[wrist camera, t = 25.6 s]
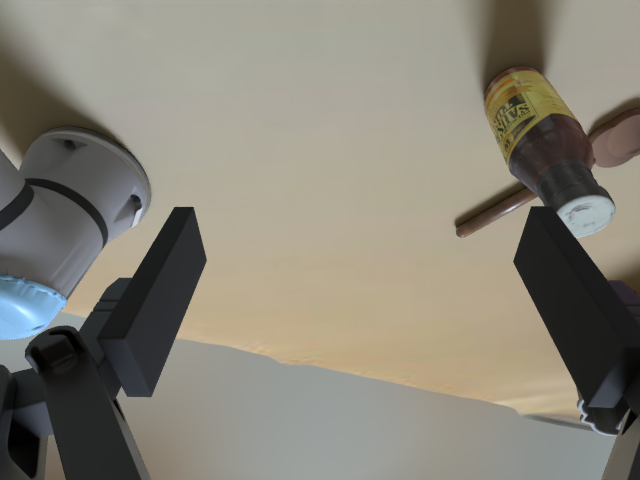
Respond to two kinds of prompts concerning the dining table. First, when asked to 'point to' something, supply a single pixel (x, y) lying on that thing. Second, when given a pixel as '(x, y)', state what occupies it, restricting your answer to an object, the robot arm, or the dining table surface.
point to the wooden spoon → (609, 151)
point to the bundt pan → (602, 416)
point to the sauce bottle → (547, 148)
